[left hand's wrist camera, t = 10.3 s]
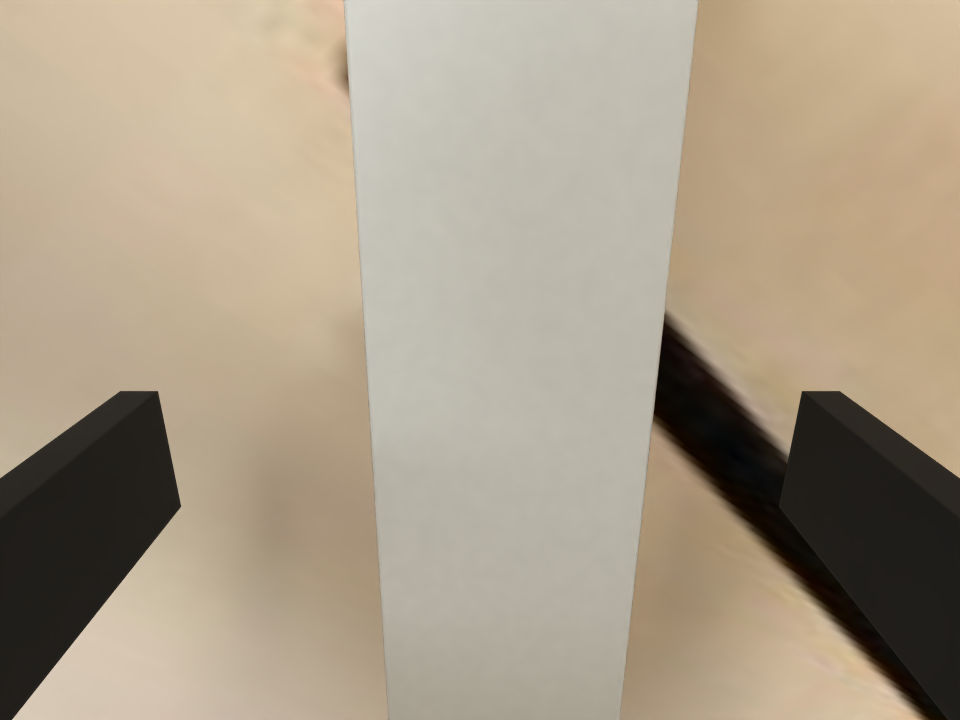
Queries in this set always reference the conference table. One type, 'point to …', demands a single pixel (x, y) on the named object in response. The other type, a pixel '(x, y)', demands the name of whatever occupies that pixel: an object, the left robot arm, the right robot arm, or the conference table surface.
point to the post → (513, 334)
